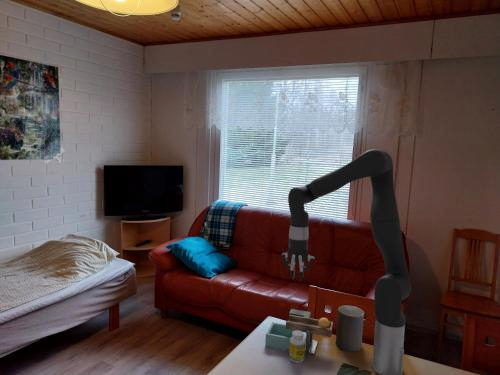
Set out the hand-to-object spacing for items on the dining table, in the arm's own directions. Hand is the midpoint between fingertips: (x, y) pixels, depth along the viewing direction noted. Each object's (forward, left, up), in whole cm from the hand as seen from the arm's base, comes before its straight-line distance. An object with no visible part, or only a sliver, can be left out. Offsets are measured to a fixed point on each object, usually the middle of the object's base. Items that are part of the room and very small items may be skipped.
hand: (296, 279), depth 146 cm
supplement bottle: (-4, +19, -22) cm, 29 cm away
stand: (-7, +10, -22) cm, 25 cm away
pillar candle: (-21, +2, -22) cm, 31 cm away
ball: (-12, +10, -11) cm, 20 cm away
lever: (-7, +6, -15) cm, 17 cm away
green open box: (+3, +10, -22) cm, 24 cm away
